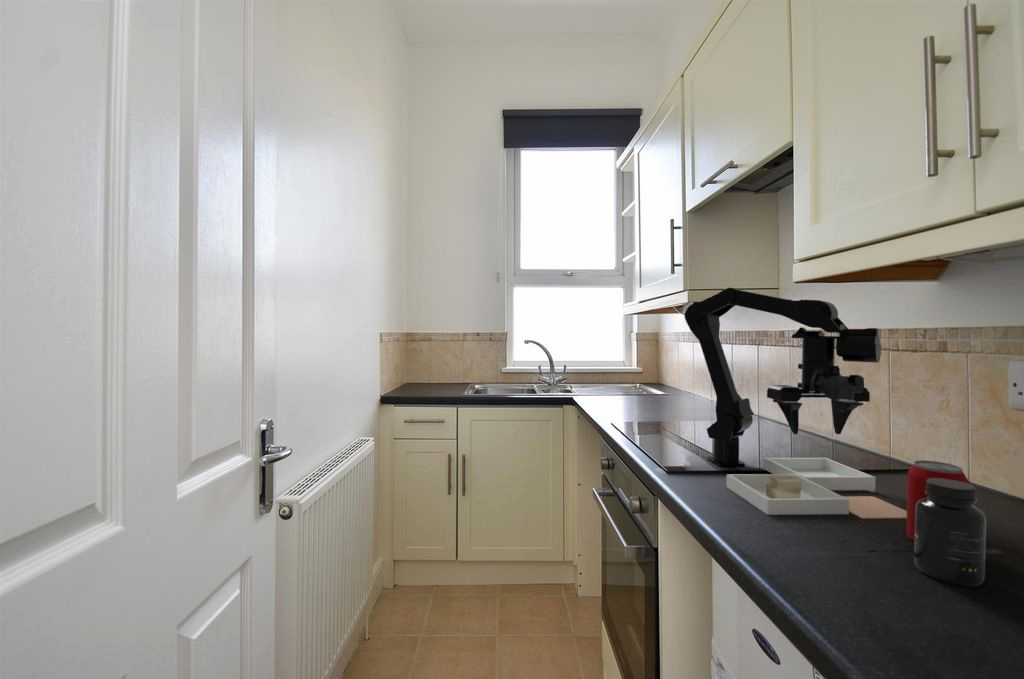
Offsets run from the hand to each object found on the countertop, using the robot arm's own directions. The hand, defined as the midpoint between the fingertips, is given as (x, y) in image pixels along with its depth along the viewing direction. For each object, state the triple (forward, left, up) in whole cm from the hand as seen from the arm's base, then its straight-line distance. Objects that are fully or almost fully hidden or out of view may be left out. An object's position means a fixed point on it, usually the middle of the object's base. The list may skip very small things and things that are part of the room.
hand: (816, 433), depth 100 cm
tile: (+16, -1, -10) cm, 19 cm away
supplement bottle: (+38, -8, -10) cm, 40 cm away
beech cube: (+12, -14, -10) cm, 21 cm away
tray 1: (+12, -14, -10) cm, 21 cm away
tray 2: (0, 0, -10) cm, 10 cm away
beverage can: (+30, -2, -10) cm, 32 cm away
